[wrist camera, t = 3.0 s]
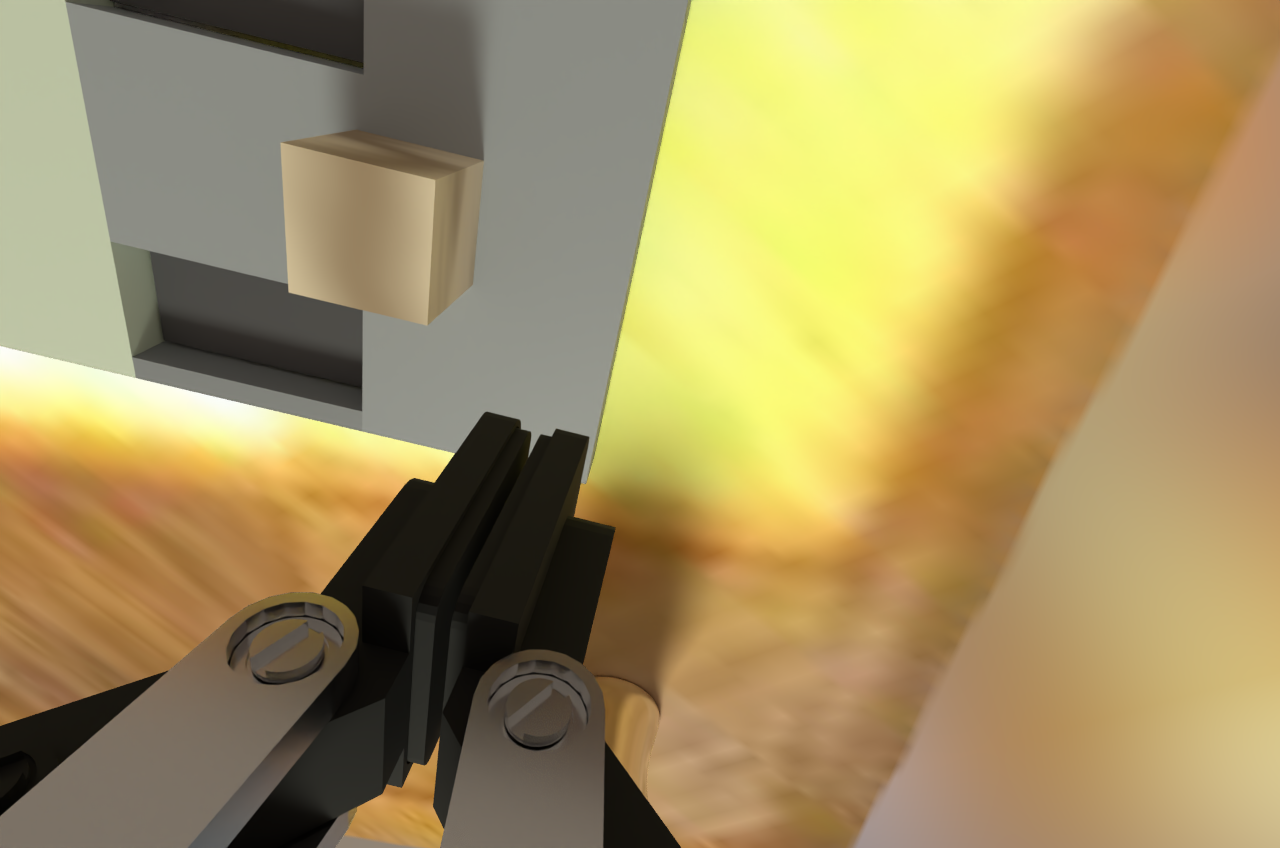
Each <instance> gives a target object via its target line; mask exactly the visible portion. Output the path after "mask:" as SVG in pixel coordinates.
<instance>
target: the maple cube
mask: <svg viewBox="0 0 1280 848" xmlns="http://www.w3.org/2000/svg"><path fill="white" fill-rule="evenodd" d="M280 144H281V163H282V181H283V199H284V217H285V236H286V254H287V272H288V290H289V293H293V294H297V295H301V296H305V297H310V298H314V299H318V300H322V301H326V302H330V303H335V304H339V305H343V306H347V307H351V308H356V309H360V310H364V311H368V312H372V313H376V314H381V315H385V316H389V317H393V318H397V319H402V320H406V321H410V322H414V323H418V324H423V325H427V326H428V325H429V324H430V323H431V322H432V321H433V320H434V319H435V318H436V317H438V316H439V315H440V314H441V313H442V312H443V311H444V310H445V309H446V308H448V307H449V306H450V305H451V304H452V303H453V302H454V301H455V300H456V299H458V298H459V297H460V296H461V295H462V294H463V293H464V292H465V291H466V290H468V289H469V288H470V287H471V286H472V285H473V278H474V266H475V255H476V244H477V233H478V222H479V211H480V200H481V188H482V177H483V166H484V161H483V160H479V159H475V158H471V157H467V156H463V155H459V154H455V153H450V152H446V151H442V150H438V149H434V148H430V147H426V146H422V145H418V144H414V143H409V142H405V141H401V140H397V139H393V138H389V137H385V136H381V135H377V134H372V133H368V132H364V131H360V130H351V131H345V132H339V133H333V134H327V135H321V136H315V137H309V138H303V139H298V140H292V141H286V142H280Z"/></svg>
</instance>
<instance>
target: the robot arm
mask: <svg viewBox="0 0 1280 848" xmlns="http://www.w3.org/2000/svg"><path fill="white" fill-rule="evenodd" d="M530 443H531V431H527V430H523V429H521V421H520V419H516V418H512V417H508V416H504V415H499V414H495V413H491V412H485V413H484V414H483V415H482V416H481V418H480V419H479V421H478V422H477V423H476V425H475V426H474V428H473V429H472V430H471V432H470V433H469V435H468V436H467V438H466V439H465V440H464V442H463V443H462V445H461V446H460V448H459V449H458V450H457V452H456V453H455V455H454V456H453V457H452V459H451V460H450V462H449V463H448V465H447V466H446V467H445V469H444V470H443V472H442V473H441V474H440V476H439V477H438V479H437V480H436V482H435V483H433V482H429V481H424V480H420V479H416V478H414V479H411V480H409V481H408V482H407V483H406V484H405V485H404V487H403V488H402V489H401V491H400V492H399V493H398V494H397V496H396V497H395V498H394V500H393V501H392V502H391V504H390V505H389V506H388V507H387V509H386V510H385V511H384V513H383V514H382V515H381V516H380V518H379V519H378V520H377V522H376V523H375V524H374V526H373V527H372V528H371V529H370V531H369V532H368V533H367V535H366V536H365V537H364V538H363V540H362V541H361V542H360V544H359V545H358V546H357V548H356V549H355V550H354V551H353V553H352V554H351V555H350V557H349V558H348V559H347V560H346V562H345V563H344V564H343V566H342V567H341V568H340V570H339V571H338V572H337V573H336V575H335V576H334V577H333V579H332V580H331V581H330V582H329V584H328V585H327V586H326V588H325V589H324V590H323V592H322V593H321V594H317V593H313V592H291V593H286V594H281V595H276V596H271V597H268V598H265V599H263V600H261V601H258V602H256V603H253V604H251V605H248V606H247V607H245V608H244V609H243V610H241V611H240V612H238V613H237V614H235V615H234V616H232V617H231V618H229V619H228V620H227V621H226V622H225V623H224V624H222V625H221V626H220V627H219V628H218V629H217V630H216V631H214V632H213V633H212V634H211V635H210V636H209V637H207V638H206V639H205V640H204V641H203V642H202V643H200V644H199V645H198V646H197V647H196V648H195V649H193V650H192V651H191V652H190V653H189V654H188V655H187V656H185V657H184V658H183V659H182V660H181V661H180V662H178V663H177V664H176V665H175V666H174V667H173V668H171V669H170V670H169V671H166V672H163V673H160V674H157V675H154V676H151V677H148V678H145V679H142V680H139V681H136V682H133V683H129V684H126V685H123V686H120V687H117V688H114V689H111V690H108V691H105V692H102V693H99V694H96V695H93V696H90V697H87V698H84V699H81V700H78V701H75V702H72V703H69V704H66V705H63V706H60V707H57V708H54V709H51V710H48V711H45V712H41V713H38V714H35V715H32V716H29V717H26V718H23V719H20V720H17V721H14V722H11V723H8V724H5V725H2V726H0V848H336V846H337V845H338V843H339V842H340V840H341V839H342V837H343V836H344V834H345V833H346V831H347V830H348V828H349V826H350V824H351V822H352V820H353V818H354V816H355V814H356V811H357V807H358V806H360V805H362V804H364V803H365V802H367V801H369V800H371V799H373V798H375V797H377V796H379V795H381V794H382V793H383V791H384V789H385V787H386V785H387V784H389V785H393V786H397V787H401V788H402V786H403V784H404V782H405V780H406V778H407V775H408V773H409V771H410V769H411V766H412V764H413V763H417V764H421V765H426V764H427V763H428V761H429V759H430V757H431V755H432V753H433V751H434V748H435V746H436V744H437V741H438V739H439V737H440V741H439V751H438V761H437V772H436V783H435V793H434V803H433V807H434V809H435V811H436V813H437V816H438V818H439V820H440V822H441V824H442V826H443V828H444V833H443V837H442V842H441V846H440V848H681V847H680V845H679V844H678V842H677V841H676V840H675V838H674V837H673V835H672V834H671V833H670V831H669V830H668V828H667V827H666V826H665V824H664V823H663V821H662V820H661V819H660V817H659V816H658V814H657V813H656V812H655V810H654V809H653V807H652V806H651V805H650V803H649V802H648V800H647V799H646V798H645V796H644V795H643V793H642V792H641V791H640V789H639V788H638V786H637V785H636V784H635V782H634V781H633V779H632V778H631V777H630V775H629V774H628V772H627V771H626V770H625V768H624V767H623V765H622V764H621V763H620V761H619V760H618V758H617V757H616V756H615V754H614V753H613V751H612V750H611V749H610V747H609V746H608V744H607V743H606V742H605V705H604V698H603V692H602V690H601V688H600V686H599V684H598V683H597V681H596V679H595V677H594V676H593V675H592V674H591V673H590V672H589V671H588V670H587V669H586V668H585V667H584V666H583V662H584V658H585V653H586V649H587V645H588V641H589V637H590V633H591V628H592V624H593V620H594V616H595V612H596V608H597V603H598V599H599V595H600V591H601V587H602V582H603V578H604V574H605V570H606V566H607V562H608V557H609V553H610V549H611V545H612V541H613V536H614V532H615V528H616V527H612V526H608V525H604V524H600V523H596V522H592V521H588V520H583V519H579V518H575V517H574V513H575V508H576V504H577V499H578V494H579V489H580V484H581V479H582V475H583V470H584V465H585V460H586V455H587V450H588V445H589V436H585V435H581V434H577V433H573V432H569V431H565V430H561V429H555V431H554V433H553V435H552V437H551V436H547V435H543V434H540V436H539V438H538V440H537V442H536V444H535V446H534V448H533V450H532V451H531V453H530V455H529V449H530ZM528 456H529V457H528Z"/></svg>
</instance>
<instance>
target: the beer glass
mask: <svg viewBox="0 0 1280 848" xmlns="http://www.w3.org/2000/svg"><path fill="white" fill-rule="evenodd" d="M595 679H596V681H597V683H598V684H599V686H600V688H601V690H602V692H603V698H604V705H605V742H606V743H607V744H608V746H609V747H610V749H611V750H612V751H613V753H614V754H615V756H616V757H617V758H618V760H619V761H620V763H621V764H622V765H623V767H624V768H625V770H626V771H627V772H628V774H629V775H630V777H631V778H632V779H633V781H634V782H635V784H636V785H637V786H638V788H639V789H640V791H641V792H642V793H643V795H644V796H645V798H646V799H647V800H648V796H647V776H648V767H649V760H650V756H651V752H652V748H653V745H654V742H655V738H656V735H657V731H658V727H659V721H660V715H659V710H658V707H657V705H656V703H655V701H654V700H653V698H652V697H651V696H650V695H649V694H648V693H647V692H646V691H644V690H643V689H642V688H640V687H639V686H637V685H635V684H633V683H631V682H628V681H625V680H622V679H618V678H613V677H595Z"/></svg>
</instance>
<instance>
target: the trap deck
mask: <svg viewBox="0 0 1280 848" xmlns="http://www.w3.org/2000/svg"><path fill="white" fill-rule="evenodd" d="M114 2H117V3H121V4H125V5H129V6H134V7H138V8H142V9H146V10H150V11H154V12H158V13H162V14H166V15H170V16H174V17H178V18H182V19H186V20H191V21H195V22H199V23H203V24H207V25H211V26H215V27H219V28H223V29H227V30H231V31H235V32H239V33H243V34H248V35H252V36H256V37H260V38H264V39H268V40H272V41H276V42H280V43H284V44H288V45H292V46H296V47H300V48H305V49H309V50H313V51H317V52H321V53H325V54H329V55H333V56H337V57H341V58H345V59H349V60H353V61H358V62H362V63H364V68H361V67H357V66H353V65H349V64H345V63H341V62H337V61H333V60H329V59H325V58H321V57H317V56H312V55H308V54H304V53H300V52H296V51H292V50H288V49H284V48H280V47H276V46H272V45H268V44H264V43H259V42H255V41H251V40H247V39H243V38H239V37H235V36H231V35H227V34H223V33H219V32H215V31H211V30H206V29H202V28H198V27H194V26H190V25H186V24H182V23H178V22H174V21H170V20H166V19H162V18H158V17H154V16H149V15H145V14H141V13H137V12H133V11H129V10H125V9H121V8H117V7H114ZM690 4H691V0H0V346H3V347H7V348H11V349H15V350H20V351H24V352H28V353H32V354H37V355H41V356H45V357H49V358H53V359H58V360H62V361H66V362H70V363H75V364H79V365H83V366H87V367H92V368H96V369H100V370H104V371H109V372H113V373H117V374H121V375H126V376H130V377H134V378H138V379H143V380H147V381H151V382H155V383H160V384H164V385H168V386H172V387H177V388H181V389H185V390H189V391H193V392H198V393H202V394H206V395H210V396H215V397H219V398H223V399H227V400H232V401H236V402H240V403H244V404H249V405H253V406H257V407H261V408H266V409H270V410H274V411H278V412H283V413H287V414H291V415H295V416H300V417H304V418H308V419H312V420H316V421H321V422H325V423H329V424H333V425H338V426H342V427H346V428H350V429H355V430H359V431H363V432H367V433H372V434H376V435H380V436H384V437H389V438H393V439H397V440H401V441H406V442H410V443H414V444H418V445H423V446H427V447H431V448H435V449H440V450H444V451H448V452H452V453H456V452H457V450H458V449H459V448H460V446H461V445H462V443H463V442H464V440H465V439H466V438H467V436H468V435H469V433H470V432H471V430H472V429H473V428H474V426H475V425H476V423H477V422H478V421H479V419H480V418H481V416H482V415H483V414H484V413H485V412H491V413H495V414H499V415H504V416H508V417H512V418H516V419H520V421H521V429H523V430H527V431H531V443H530V449H529V455H530V453H531V451H532V450H533V448H534V446H535V444H536V442H537V440H538V438H539V436H540V434H543V435H547V436H551V437H552V435H553V433H554V431H555V429H561V430H565V431H569V432H573V433H577V434H581V435H585V436H589V445H588V450H587V455H586V460H585V465H584V470H583V475H582V479H581V483H584V484H586V482H587V479H588V476H589V472H590V469H591V466H592V463H593V459H594V454H595V450H596V445H597V440H598V436H599V431H600V426H601V422H602V417H603V412H604V408H605V403H606V398H607V393H608V389H609V384H610V379H611V375H612V370H613V365H614V361H615V356H616V351H617V347H618V342H619V337H620V333H621V328H622V323H623V319H624V314H625V309H626V304H627V300H628V295H629V290H630V286H631V281H632V276H633V272H634V267H635V262H636V258H637V253H638V248H639V244H640V239H641V234H642V229H643V225H644V220H645V215H646V211H647V206H648V201H649V197H650V192H651V187H652V183H653V178H654V173H655V169H656V164H657V159H658V154H659V150H660V145H661V140H662V136H663V131H664V126H665V122H666V117H667V112H668V108H669V103H670V98H671V94H672V89H673V84H674V79H675V75H676V70H677V65H678V61H679V56H680V51H681V47H682V42H683V37H684V33H685V28H686V23H687V19H688V14H689V9H690ZM351 130H360V131H364V132H368V133H372V134H377V135H381V136H385V137H389V138H393V139H397V140H401V141H405V142H409V143H414V144H418V145H422V146H426V147H430V148H434V149H438V150H442V151H446V152H450V153H455V154H459V155H463V156H467V157H471V158H475V159H479V160H483V161H484V166H483V177H482V188H481V200H480V211H479V222H478V233H477V244H476V255H475V266H474V278H473V285H472V286H471V287H470V288H469V289H468V290H466V291H465V292H464V293H463V294H462V295H461V296H460V297H459V298H458V299H456V300H455V301H454V302H453V303H452V304H451V305H450V306H449V307H448V308H446V309H445V310H444V311H443V312H442V313H441V314H440V315H439V316H438V317H436V318H435V319H434V320H433V321H432V322H431V323H430V324H429V325H428V326H427V325H423V324H418V323H414V322H410V321H406V320H402V319H397V318H393V317H389V316H385V315H381V314H376V313H372V312H368V311H364V310H360V309H356V308H351V307H347V306H343V305H339V304H335V303H330V302H326V301H322V300H318V299H314V298H310V297H305V296H301V295H297V294H293V293H289V290H288V272H287V254H286V236H285V217H284V199H283V181H282V163H281V144H280V142H286V141H292V140H298V139H303V138H309V137H315V136H321V135H327V134H333V133H339V132H345V131H351ZM528 457H529V456H528Z"/></svg>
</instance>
